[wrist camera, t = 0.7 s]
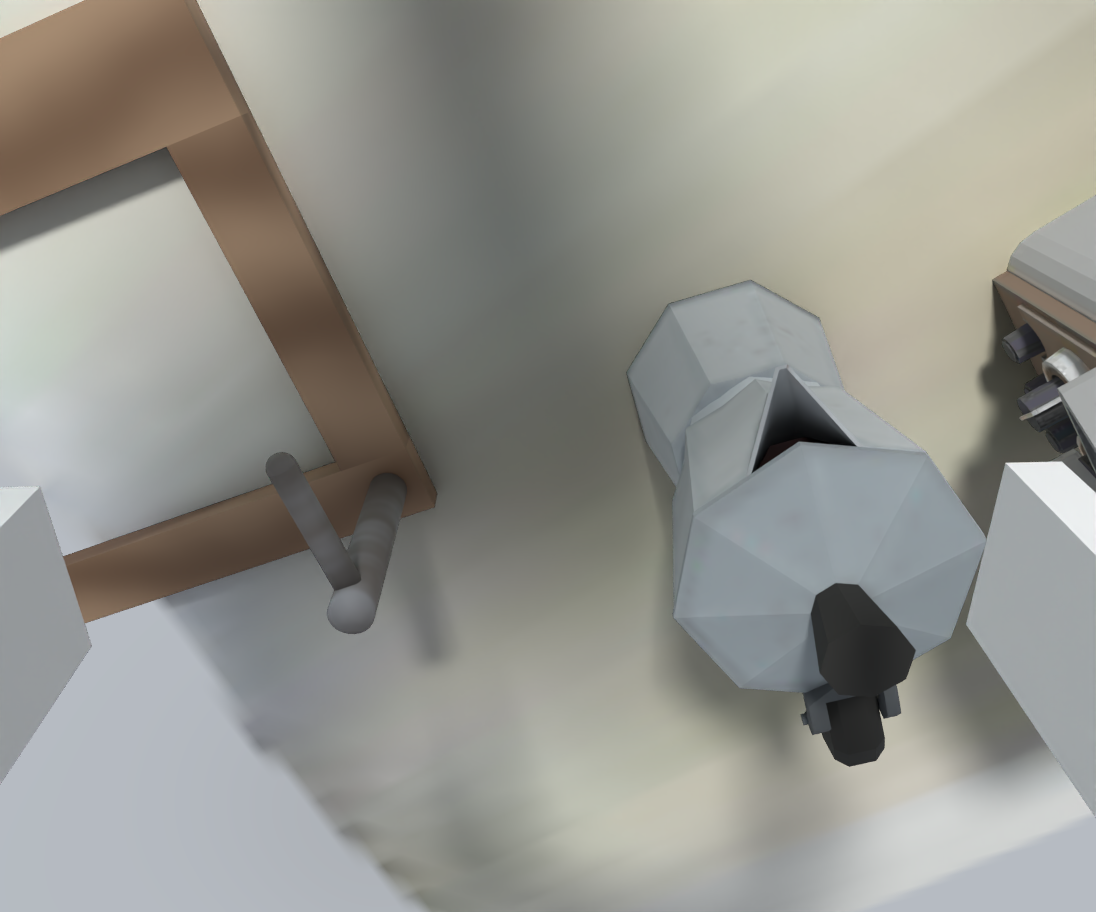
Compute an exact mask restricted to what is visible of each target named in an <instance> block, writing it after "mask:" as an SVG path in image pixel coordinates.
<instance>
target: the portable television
mask: <svg viewBox="0 0 1096 912" xmlns="http://www.w3.org/2000/svg"><path fill="white" fill-rule="evenodd" d="M993 282H994V284H995V286H996V288H997V291H998V293H999V295H1000V297H1001V299H1002V301H1003V303H1004V305H1005V307H1006V310H1007V312H1008V314H1009V316H1010V318H1011V320H1012V322H1013V324H1014V326H1015V328H1016V330H1015V331H1013V332H1012V333H1010V334H1009V335H1007V336H1005V337H1004V338H1003V339H1002V346H1003V348H1004V350H1005V352H1006V353H1007V355H1008V356H1009V357H1010V358H1011V359H1012V360H1013V361H1014V362H1016V363H1019V364H1020V363H1022V362H1024V361H1026V360H1028V359H1030V360H1031V362H1032V364H1033V366H1034V369H1035V371H1036V373H1037V375H1038V376H1037V377H1035V378H1034V379H1032V380H1031V381H1029V382H1028V383H1026V384H1025V389H1024V391H1025V395H1023V396H1021V397H1020V398H1018V399H1017V403H1018V405H1019V408H1020V410H1021V411H1022V413H1023V415H1022V416H1020V417H1019V418H1020V420H1021V421H1022V420H1025V419H1027V420H1028V422H1029V423H1030V424H1031V426H1032V427H1033V428H1035V429H1036V430H1037V431H1038V432H1041V431H1043V430H1045V429H1046V437H1047V439H1048V441H1049V442H1050V444H1051V445H1052V446H1053V448H1054V449H1055V450H1056V451H1058V452H1060V453H1064V454H1062V455H1060V456H1058V457H1057V458H1055V459H1053V460H1051V461H1049V462H1061V461H1062V462H1063V463H1064V464H1065V465H1066V466H1067V467H1068V468H1069V469H1070V470H1072V471H1073V472H1074V473H1075V474H1076V475H1077V476H1078V477H1079V478H1080V479H1081V480H1082V481H1084V482H1085V483H1086V484H1087V485H1088V486H1089V487H1090V488H1091V489H1092V490H1093V491H1094V492H1096V195H1095V196H1093V197H1091V198H1090V199H1088V200H1086V201H1085V202H1083V203H1081V204H1080V205H1078V206H1076V207H1075V208H1073V209H1071V210H1070V211H1068V212H1066V213H1065V214H1063V215H1061V216H1060V217H1058V218H1056V219H1055V220H1053V221H1051V222H1050V223H1048V224H1046V225H1045V226H1043V227H1041V228H1040V229H1038V230H1036V231H1035V232H1033V233H1032V234H1031V235H1029V236H1028V237H1027V238H1026V239H1024V240H1023V241H1022V242H1020V244H1019V245H1018V247H1017V248H1016V249H1015V251H1014V252H1013V254H1012V255H1011V257H1010V260H1009V264H1008V267H1007V271H1006V272H1005V273H1003V274H1001V275H999V276H998V277H996V278H994V279H993ZM1077 447H1079V450H1080V452H1081V454H1082V456H1081V455H1080V454H1079V452H1078V451H1076V450H1075V448H1077Z"/></svg>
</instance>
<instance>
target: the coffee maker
mask: <svg viewBox="0 0 1096 912" xmlns="http://www.w3.org/2000/svg"><path fill="white" fill-rule="evenodd" d="M626 373H627V376H628V380H629V383H630V387H631V390H632V394H633V397H634V401H635V405H636V408H637V412H638V415H639V419H640V422H641V426H642V429H643V433H644V436H645V440H646V442H647V444H648V445H649V447H650V448H651V450H652V451H653V453H654V454H655V456H656V457H657V459H658V460H659V462H660V463H661V465H662V467H663V468H664V470H665V471H666V473H667V474H668V476H669V477H670V479H671V480H672V482H673V483H674V485H675V486H676V490H675V493H674V496H673V500H672V509H673V587H674V609H673V618H674V619H675V620H676V621H677V622H678V623H679V624H680V625H681V626H682V628H683V629H684V630H685V631H686V632H687V633H688V634H689V635H690V636H691V637H692V638H693V639H694V640H695V641H696V642H697V643H698V645H699V646H700V647H701V648H702V649H703V650H704V651H705V652H706V653H707V654H708V655H709V656H710V657H711V658H712V659H713V661H714V662H715V663H716V664H717V665H718V666H719V667H720V668H721V669H722V670H723V671H724V672H725V673H726V674H727V675H728V676H729V678H730V679H731V680H732V681H733V682H734V683H735V684H736V685H737V686H738V687H739V688H745V689H759V690H773V691H788V692H802V693H803V696H804V701H805V706H806V712H805V714H801V718H802V721H803V725H807V724H808V725H809V728H810V730H811V733H812V735H814V734H818V733H822V735H823V738H824V740H825V742H826V744H827V746H828V748H829V750H830V751H831V753H832V755H833V757H834V759H835V760H837V761H839V762H841V763H843V764H845V765H847V766H849V767H850V766H854V765H859V764H863V763H868V762H872V761H876V760H877V759H878V757H879V756H880V754H881V753H882V751H883V750H884V746H885V737H884V732H883V727H882V722H881V717H880V712H881V714H882V716H883V718H884V719H885V718H889V717H893V716H897V715H899V714H901V709H900V702H899V696H898V690H897V686H896V684H898V683H900V682H902V681H903V680H905V679H906V677H907V675H908V672H909V669H910V666H911V663H912V661H913V660H914V659H915V658H917V657H919V656H921V655H922V654H924V653H926V652H928V651H929V650H931V649H933V648H935V647H936V646H938V645H940V644H942V643H943V642H945V641H947V640H949V639H950V638H951V636H952V633H953V631H954V628H955V625H956V623H957V620H958V617H959V615H960V612H961V609H962V607H963V604H964V601H965V599H966V596H967V593H968V591H969V588H970V585H971V583H972V580H973V577H974V575H975V572H976V570H977V567H978V564H979V562H980V559H981V556H982V554H983V551H984V548H985V545H986V541H987V539H986V538H985V535H984V533H983V532H982V530H981V529H980V527H979V526H978V525H977V523H976V522H975V520H974V519H973V518H972V516H971V515H970V513H969V512H968V510H967V509H966V508H965V506H964V505H963V503H962V502H961V501H960V499H959V498H958V496H957V495H956V493H955V492H954V491H953V489H952V488H951V486H950V485H949V483H948V482H947V481H946V479H945V478H944V476H943V475H942V474H941V472H940V471H939V469H938V468H937V466H936V465H935V464H934V462H933V461H932V459H931V458H930V457H929V455H928V454H927V452H926V451H925V450H923V449H922V448H921V447H919V446H918V445H917V444H915V443H914V442H913V441H911V440H910V439H909V438H907V437H906V436H905V435H903V434H902V433H901V432H899V431H898V430H897V429H895V428H894V427H893V426H891V425H890V424H889V423H887V422H886V421H884V420H883V419H882V418H880V417H879V416H878V415H876V414H875V413H874V412H872V411H871V410H870V409H868V408H867V407H866V406H864V405H863V404H862V403H860V402H859V401H858V400H856V399H855V398H854V397H852V396H851V395H850V394H848V393H847V392H846V391H845V390H844V387H843V384H842V381H841V378H840V375H839V373H838V370H837V367H836V364H835V361H834V358H833V356H832V353H831V350H830V347H829V344H828V341H827V338H826V336H825V333H824V330H823V327H822V324H821V321H820V319H819V317H817V316H815V315H813V314H811V313H810V312H808V311H806V310H804V309H802V308H801V307H799V306H797V305H795V304H793V303H792V302H790V301H788V300H786V299H784V298H782V297H781V296H779V295H777V294H775V293H773V292H772V291H770V290H768V289H766V288H764V287H763V286H761V285H759V284H757V283H755V282H753V281H752V280H748V281H745V282H742V283H738V284H735V285H731V286H728V287H724V288H721V289H718V290H714V291H711V292H707V293H704V294H700V295H697V296H694V297H690V298H687V299H683V300H680V301H677V302H673V303H670V304H668V306H667V307H666V309H665V310H664V312H663V314H662V315H661V317H660V319H659V320H658V322H657V323H656V325H655V327H654V328H653V330H652V332H651V333H650V335H649V337H648V338H647V340H646V341H645V343H644V345H643V346H642V348H641V350H640V351H639V353H638V354H637V356H636V358H635V359H634V361H633V363H632V364H631V366H630V368H629V369H628V371H627V372H626ZM879 710H880V712H879Z"/></svg>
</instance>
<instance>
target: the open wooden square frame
mask: <svg viewBox="0 0 1096 912" xmlns="http://www.w3.org/2000/svg"><path fill="white" fill-rule="evenodd" d="M164 147H167V149H168V151H169V153H170V155H171V156H172V158H173V160H174V162H175V164H176V166H177V168H178V169H179V171H180V173H181V175H182V177H183V179H184V181H185V182H186V184H187V186H188V188H189V190H190V192H191V194H192V195H193V197H194V199H195V201H196V203H197V205H198V207H199V208H200V210H201V212H202V214H203V216H204V218H205V220H206V221H207V223H208V225H209V227H210V229H211V231H212V233H213V235H214V236H215V238H216V240H217V242H218V244H219V246H220V248H221V249H222V251H223V253H224V255H225V257H226V259H227V261H228V262H229V264H230V266H231V268H232V270H233V272H234V274H235V275H236V277H237V279H238V281H239V283H240V285H241V287H242V288H243V290H244V292H245V294H246V296H247V298H248V300H249V301H250V303H251V305H252V307H253V309H254V311H255V313H256V314H257V316H258V318H259V320H260V322H261V324H262V326H263V327H264V329H265V331H266V333H267V335H268V337H269V339H270V340H271V342H272V344H273V346H274V348H275V350H276V352H277V353H278V355H279V357H280V359H281V361H282V363H283V365H284V366H285V368H286V370H287V372H288V374H289V376H290V378H291V379H292V381H293V383H294V385H295V387H296V389H297V391H298V392H299V394H300V396H301V398H302V400H303V402H304V404H305V405H306V407H307V409H308V411H309V413H310V415H311V417H312V418H313V420H314V422H315V424H316V426H317V428H318V430H319V432H320V433H321V435H322V437H323V439H324V441H325V443H326V445H327V446H328V448H329V450H330V452H331V454H332V456H333V458H334V459H335V461H336V462H334V463H331V464H329V465H326V466H323V467H320V468H317V469H314V470H311V471H308V472H305V473H303V472H302V471H301V469H300V467H299V465H298V463H297V462H296V460H295V459H294V457H293V456H291V455H290V454H288V453H283V452H280V453H276V454H274V455H272V456H271V457H270V458H269V459H268V461H267V463H266V473H267V475H268V477H269V478H270V480H271V482H272V484H271V485H268V486H265V487H262V488H259V489H256V490H254V491H251V492H248V493H245V494H242V495H239V496H236V497H233V498H230V499H228V500H225V501H222V502H219V503H216V504H213V505H210V506H207V507H204V508H202V509H199V510H196V511H193V512H190V513H187V514H184V515H181V516H178V517H176V518H173V519H170V520H167V521H164V522H161V523H158V524H155V525H152V526H150V527H147V528H144V529H141V530H138V531H135V532H132V533H129V534H126V535H124V536H121V537H118V538H115V539H112V540H109V541H106V542H103V543H101V544H98V545H95V546H92V547H89V548H86V549H83V550H80V551H77V552H75V553H72V554H69V555H66V556H63V558H64V561H65V564H66V568H67V571H68V574H69V577H70V580H71V583H72V586H73V589H74V592H75V595H76V598H77V602H78V605H79V608H80V611H81V614H82V617H83V620H84V623H87V622H90V621H93V620H96V619H99V618H102V617H105V616H108V615H111V614H114V613H117V612H120V611H123V610H126V609H129V608H133V607H135V606H139V605H142V604H144V603H148V602H151V601H154V600H157V599H160V598H163V597H166V596H169V595H172V594H175V593H178V592H181V591H184V590H187V589H190V588H193V587H196V586H199V585H202V584H205V583H208V582H211V581H214V580H217V579H220V578H223V577H226V576H229V575H232V574H235V573H238V572H241V571H244V570H247V569H250V568H253V567H256V566H259V565H262V564H265V563H268V562H271V561H274V560H277V559H280V558H283V557H286V556H289V555H292V554H295V553H298V552H301V551H304V550H307V549H311V551H312V552H313V554H314V556H315V558H316V559H317V561H318V563H319V564H320V566H321V568H322V570H323V571H324V573H325V575H326V576H327V578H328V580H329V582H330V583H331V585H332V587H333V589H334V592H333V595H332V598H331V601H330V603H329V606H328V609H327V617H328V620H329V622H330V623H331V625H332V626H333V627H335V628H336V629H337V630H339V631H341V632H344V633H348V634H357V633H361V632H364V631H366V630H367V629H369V628H370V626H371V625H372V624H373V621H374V618H375V614H376V610H377V606H378V602H379V598H380V595H381V591H382V587H383V583H384V579H385V575H386V571H387V568H388V564H389V560H390V556H391V552H392V548H393V544H394V541H395V537H396V533H397V529H398V525H399V521H400V518H403V517H406V516H409V515H412V514H415V513H418V512H421V511H424V510H427V509H430V508H433V507H435V503H436V497H437V492H436V490H435V488H434V486H433V484H432V482H431V480H430V478H429V476H428V473H427V471H426V469H425V467H424V465H423V463H422V461H421V459H420V457H419V455H418V453H417V451H416V449H415V447H414V445H413V443H412V441H411V439H410V437H409V435H408V433H407V431H406V428H405V426H404V424H403V422H402V420H401V418H400V416H399V414H398V412H397V410H396V408H395V406H394V404H393V402H392V400H391V398H390V396H389V394H388V392H387V390H386V388H385V386H384V383H383V381H382V379H381V377H380V375H379V373H378V371H377V369H376V367H375V365H374V363H373V361H372V359H371V357H370V355H369V353H368V351H367V349H366V347H365V345H364V343H363V341H362V339H361V336H360V334H359V332H358V330H357V328H356V326H355V324H354V322H353V320H352V318H351V316H350V314H349V312H348V310H347V308H346V306H345V304H344V302H343V300H342V298H341V296H340V294H339V291H338V289H337V287H336V285H335V283H334V281H333V279H332V277H331V275H330V273H329V271H328V269H327V267H326V265H325V263H324V261H323V259H322V257H321V255H320V253H319V251H318V249H317V247H316V244H315V242H314V240H313V238H312V236H311V234H310V232H309V230H308V228H307V226H306V224H305V222H304V220H303V218H302V216H301V214H300V212H299V210H298V208H297V206H296V204H295V202H294V199H293V197H292V195H291V193H290V191H289V189H288V187H287V185H286V183H285V181H284V179H283V177H282V175H281V173H280V171H279V169H278V167H277V165H276V163H275V161H274V159H273V157H272V154H271V152H270V150H269V148H268V146H267V144H266V142H265V140H264V138H263V136H262V134H261V132H260V130H259V128H258V126H257V124H256V122H255V120H254V118H253V116H252V114H251V112H250V110H249V107H248V105H247V103H246V101H245V99H244V97H243V95H242V93H241V91H240V89H239V87H238V85H237V83H236V81H235V79H234V77H233V75H232V73H231V71H230V69H229V67H228V65H227V62H226V60H225V58H224V56H223V54H222V52H221V50H220V48H219V46H218V44H217V42H216V40H215V38H214V36H213V34H212V32H211V30H210V28H209V26H208V24H207V22H206V20H205V18H204V15H203V13H202V11H201V9H200V7H199V5H198V3H197V1H196V0H84V1H82V2H80V3H78V4H76V5H73V6H71V7H69V8H67V9H64V10H62V11H60V12H58V13H56V14H53V15H51V16H49V17H47V18H44V19H42V20H40V21H38V22H36V23H33V24H31V25H29V26H27V27H24V28H22V29H20V30H18V31H16V32H13V33H11V34H9V35H7V36H4V37H2V38H0V216H1V215H3V214H6V213H8V212H11V211H13V210H15V209H18V208H20V207H23V206H25V205H27V204H30V203H32V202H35V201H37V200H39V199H42V198H44V197H47V196H49V195H51V194H54V193H56V192H59V191H61V190H63V189H66V188H68V187H71V186H73V185H75V184H78V183H80V182H83V181H85V180H87V179H90V178H92V177H95V176H97V175H99V174H102V173H104V172H107V171H109V170H111V169H114V168H116V167H119V166H121V165H123V164H126V163H128V162H131V161H133V160H135V159H138V158H140V157H143V156H145V155H148V154H150V153H152V152H155V151H157V150H160V149H162V148H164ZM352 534H353V536H352V539H351V542H350V545H349V548H348V550H347V551H346V549H345V547H344V546H343V544H342V542H341V540H340V538H343V537H346V536H349V535H352Z"/></svg>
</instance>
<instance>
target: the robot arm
mask: <svg viewBox="0 0 1096 912" xmlns="http://www.w3.org/2000/svg"><path fill="white" fill-rule="evenodd" d="M966 625H967V627H968V628H969V630H970V631H971V633H972V634H973V636H974V637H975V638H976V640H977V641H978V643H979V644H980V646H981V647H982V649H983V650H984V652H985V653H986V655H987V656H988V658H989V659H990V661H991V662H992V664H993V665H994V667H995V668H996V670H997V671H998V673H999V674H1000V676H1001V677H1002V679H1003V680H1004V682H1005V683H1006V685H1007V686H1008V688H1009V689H1010V691H1011V692H1012V694H1013V695H1014V697H1015V698H1016V700H1017V701H1018V703H1019V704H1020V706H1021V707H1022V709H1023V710H1024V712H1025V713H1026V715H1027V716H1028V718H1029V719H1030V721H1031V722H1032V724H1033V725H1034V727H1035V728H1036V730H1037V731H1038V733H1039V734H1040V736H1041V737H1042V739H1043V740H1044V742H1045V743H1046V745H1047V746H1048V748H1049V749H1050V751H1051V752H1052V753H1053V755H1054V756H1055V758H1056V759H1057V761H1058V762H1059V764H1060V765H1061V767H1062V768H1063V770H1064V771H1065V773H1066V774H1067V776H1068V777H1069V779H1070V780H1071V782H1072V783H1073V785H1074V786H1075V788H1076V789H1077V791H1078V792H1079V794H1080V795H1081V797H1082V798H1083V800H1084V801H1085V803H1086V804H1087V806H1088V807H1089V809H1090V810H1091V812H1092V813H1093V815H1094V816H1095V818H1096V492H1094V491H1093V490H1092V489H1091V488H1090V487H1089V486H1088V485H1087V484H1086V483H1085V482H1084V481H1082V480H1081V479H1080V478H1079V477H1078V476H1077V475H1076V474H1075V473H1074V472H1073V471H1072V470H1070V469H1069V468H1068V467H1067V466H1066V465H1065V464H1064V463H1063V462H1062V461H1061V462H1020V463H1005V467H1004V471H1003V475H1002V479H1001V484H1000V488H999V492H998V496H997V500H996V504H995V508H994V512H993V516H992V520H991V524H990V528H989V533H988V537H987V541H986V545H985V549H984V553H983V557H982V561H981V565H980V569H979V573H978V578H977V582H976V586H975V590H974V594H973V598H972V602H971V606H970V610H969V614H968V618H967V623H966ZM91 647H92V645H91V642H90V639H89V636H88V632H87V629H86V626H85V623H84V620H83V617H82V614H81V611H80V608H79V605H78V602H77V598H76V595H75V592H74V589H73V586H72V583H71V580H70V577H69V574H68V571H67V568H66V564H65V561H64V558H63V555H62V552H61V549H60V546H59V543H58V540H57V537H56V534H55V530H54V528H53V524H52V521H51V518H50V515H49V512H48V509H47V506H46V503H45V500H44V496H43V493H42V490H41V487H40V486H32V487H0V784H1V783H2V781H3V780H4V778H5V777H6V775H7V774H8V772H9V770H10V769H11V768H12V766H13V765H14V763H15V762H16V760H17V759H18V757H19V756H20V754H21V752H22V751H23V749H24V748H25V747H26V745H27V744H28V742H29V741H30V739H31V737H32V736H33V734H34V733H35V731H36V730H37V728H38V727H39V725H40V724H41V722H42V721H43V719H44V718H45V716H46V715H47V713H48V712H49V710H50V709H51V707H52V705H53V704H54V703H55V701H56V700H57V698H58V697H59V695H60V694H61V692H62V691H63V689H64V688H65V686H66V684H67V683H68V682H69V680H70V679H71V677H72V675H73V674H74V672H75V671H76V669H77V668H78V666H79V665H80V663H81V662H82V660H83V659H84V657H85V656H86V654H87V653H88V651H89V650H90V648H91Z"/></svg>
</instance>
